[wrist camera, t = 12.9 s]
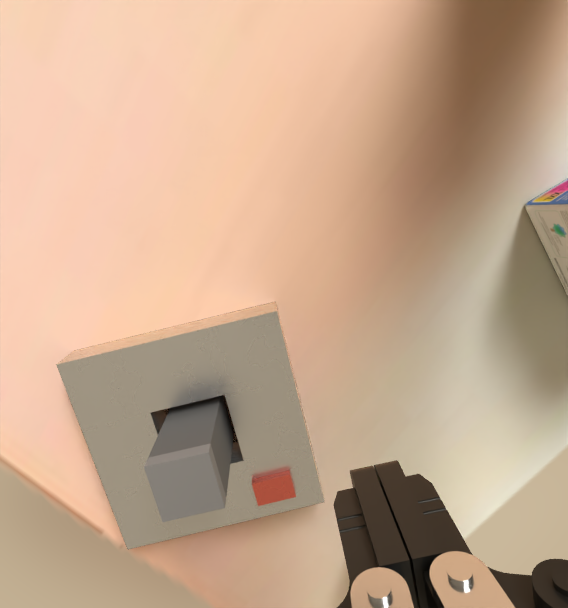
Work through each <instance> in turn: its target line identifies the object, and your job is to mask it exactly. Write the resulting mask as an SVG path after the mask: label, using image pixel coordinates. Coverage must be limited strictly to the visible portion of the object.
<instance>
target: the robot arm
mask: <svg viewBox="0 0 568 608" xmlns="http://www.w3.org/2000/svg"><path fill="white" fill-rule="evenodd" d="M350 474H351V479H352V484H353V488H351V489H347V490H342V491H338V492H337V496H336V499H335V502H334V509H335V513H336V518H337V523H338V527H339V532H340V536H341V541H342V546H343V550H344V555H345V559H346V564H347V569H348V573H349V579H350V586H349V590H348V593H347V596H346V597H345V599H344V601H343V602H342V603H341V604H340V605H339V606H338V607H337V608H568V560H563V559H549V560H545V561H543V562H541V563H539V564H538V565H537V566H536V567H535V568H534V570H533V572H532V576H530V575H519V574H509V573H503V572H499V571H496V570H493V569H491V568H489V567H487V566H486V565H485V564H484V563H483V562H482V561H481V560H480V559H478V558H477V557H475V556H473V555H472V553H471V552H470V550H469V548H468V547H467V545H466V543H465V541H464V539H463V538H462V536H461V534H460V532H459V531H458V529H457V527H456V525H455V523H454V522H453V520H452V518H451V516H450V515H449V513H448V511H447V510H446V508H445V506H444V504H443V502H442V500H441V499H440V497H439V495H438V493H437V492H436V490H435V488H434V486H433V484H432V483H431V482H429V481H428V480H427V479H425V478H424V477H423V476H421V475H420V474H416V475H411V476H407V477H405V475H404V473H403V471H402V469H401V466H400V464H399V462H398V461H397V460H396V461H392V462H387V463H382V464H378V465H374V467H373V466H369V467H364V468H360V469H355V470H350Z"/></svg>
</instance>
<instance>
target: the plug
mask: <svg viewBox="0 0 568 608" xmlns="http://www.w3.org/2000/svg"><path fill="white" fill-rule="evenodd" d="M233 438H234V432H233V428H232V425H231V421H230V418H229V414H228V410H227V407H226V403H225V400H224V396H223V395H221V396H217V397H213V398H209V399H205V400H201V401H197V402H192V403H188V404H184V405H180V406H176V407H172V408H170V410H169V412H168V414H167V416H166V419H165V421H164V423H163V425H162V428H161V430H160V432H159V434H158V437H157V439H156V441H155V443H154V446H153V448H152V450H151V452H150V454H149V457H148V459H147V461H146V463H145V466H144V469H145V472H146V475H147V478H148V481H149V484H150V487H151V490H152V493H153V496H154V499H155V501H156V504H157V507H158V510H159V513H160V516H161V519H162V522H166V521H171V520H175V519H180V518H184V517H188V516H193V515H197V514H201V513H206V512H210V511H215V510H219V509H223V508H225V505H226V496H227V488H228V479H229V471H230V463H231V454H232V446H233Z"/></svg>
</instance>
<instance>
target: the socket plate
mask: <svg viewBox="0 0 568 608" xmlns="http://www.w3.org/2000/svg"><path fill="white" fill-rule="evenodd" d="M56 365H57V368H58V370H59V373H60V375H61V378H62V381H63V383H64V386H65V388H66V391H67V394H68V396H69V399H70V401H71V404H72V407H73V409H74V412H75V414H76V417H77V420H78V422H79V425H80V427H81V430H82V433H83V435H84V438H85V440H86V443H87V446H88V448H89V451H90V453H91V456H92V459H93V461H94V464H95V466H96V469H97V471H98V474H99V477H100V479H101V482H102V484H103V487H104V490H105V492H106V495H107V497H108V500H109V503H110V505H111V508H112V510H113V513H114V516H115V518H116V521H117V523H118V526H119V529H120V531H121V534H122V536H123V539H124V542H125V544H126V547H127V549H132V548H136V547H140V546H145V545H149V544H153V543H157V542H161V541H165V540H169V539H174V538H178V537H182V536H186V535H190V534H194V533H198V532H203V531H207V530H211V529H215V528H219V527H223V526H227V525H232V524H236V523H240V522H244V521H248V520H252V519H256V518H261V517H265V516H269V515H273V514H277V513H281V512H285V511H290V510H294V509H298V508H302V507H306V506H310V505H314V504H319V503H323V502H324V497H323V493H322V488H321V483H320V479H319V474H318V470H317V466H316V462H315V458H314V454H313V450H312V446H311V442H310V438H309V434H308V430H307V426H306V422H305V418H304V414H303V410H302V406H301V402H300V398H299V394H298V390H297V386H296V382H295V378H294V374H293V370H292V366H291V362H290V358H289V354H288V350H287V346H286V342H285V338H284V333H283V329H282V325H281V321H280V317H279V313H278V309H277V305H276V302H272V303H268V304H264V305H260V306H256V307H251V308H247V309H243V310H239V311H235V312H231V313H227V314H223V315H218V316H214V317H210V318H206V319H202V320H198V321H194V322H190V323H186V324H181V325H177V326H173V327H169V328H165V329H161V330H157V331H153V332H149V333H144V334H140V335H136V336H132V337H128V338H124V339H120V340H116V341H111V342H107V343H103V344H99V345H95V346H91V347H87V348H83V349H79V350H74V351H73V352H72V353H70V354H69V355H68V356H67V357H65V358H64V359H63V360H62V361H60V362H59V363H58V364H56ZM221 395H225V398H226V401H227V405H228V408H229V412H230V415H231V418H232V422H233V425H234V429H235V432H236V436H237V439H238V442H234V443H233V446H232V454H231V463H230V471H229V479H228V488H227V496H226V505H225V508H223V509H219V510H215V511H210V512H206V513H201V514H197V515H193V516H188V517H184V518H180V519H175V520H171V521H166V522H162V519H161V516H160V513H159V510H158V507H157V504H156V501H155V499H154V496H153V493H152V490H151V487H150V484H149V481H148V478H147V475H146V472H145V469H144V466H145V463H146V461H147V459H148V457H149V454H150V452H151V450H152V448H153V446H154V443H155V441H156V439H157V437H158V434H159V432H160V430H161V428H162V425H163V423H164V421H165V419H166V413H165V410H164V409H168V408H172V407H176V406H180V405H184V404H188V403H192V402H197V401H201V400H205V399H209V398H213V397H217V396H221Z"/></svg>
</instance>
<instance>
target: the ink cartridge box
mask: <svg viewBox="0 0 568 608" xmlns="http://www.w3.org/2000/svg"><path fill="white" fill-rule="evenodd" d="M525 208H526V211H527V213H528V215H529V217H530V219H531V221H532V223H533V225H534V227H535V229H536V231H537V233H538V235H539V237H540V240H541V242H542V244H543V246H544V248H545V250H546V252H547V254H548V256H549V258H550V260H551V262H552V264H553V267H554V269H555V271H556V273H557V275H558V277H559V279H560V281H561V283H562V285H563V287H564V289H565V291H566V293H567V295H568V179H566V180H564V181H563V182H561V183H559V184H558V185H556V186H554V187H553V188H551V189H549V190H547V191H546V192H544V193H542V194H541V195H539V196H537V197H536V198H534V199H532V200H531V201H529V202H528V203H527V204H526V207H525Z"/></svg>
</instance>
